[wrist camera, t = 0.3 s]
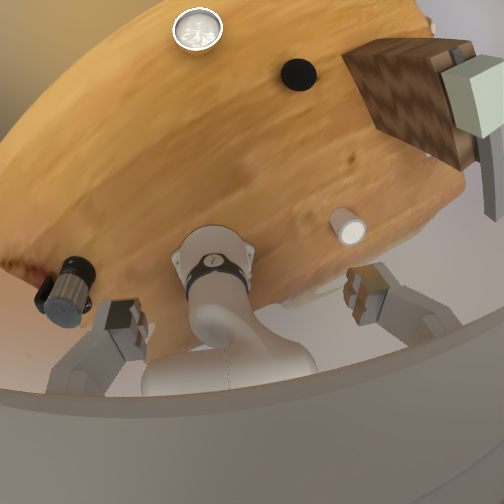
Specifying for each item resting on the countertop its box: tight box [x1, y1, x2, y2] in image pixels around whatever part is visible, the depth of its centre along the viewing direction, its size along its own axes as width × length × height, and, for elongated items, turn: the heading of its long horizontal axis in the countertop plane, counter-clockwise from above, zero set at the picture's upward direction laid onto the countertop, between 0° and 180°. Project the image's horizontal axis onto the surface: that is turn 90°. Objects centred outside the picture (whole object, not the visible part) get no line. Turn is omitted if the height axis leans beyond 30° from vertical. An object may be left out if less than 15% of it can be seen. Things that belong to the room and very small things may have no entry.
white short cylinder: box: [330, 207, 366, 246], centre depth 64 cm, size 7×7×7 cm
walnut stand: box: [341, 38, 480, 172], centre depth 39 cm, size 18×10×27 cm, turn 33°
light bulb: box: [281, 59, 317, 91], centre depth 43 cm, size 6×6×10 cm
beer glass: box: [172, 7, 223, 56], centre depth 35 cm, size 7×7×15 cm
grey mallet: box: [441, 55, 504, 222], centre depth 29 cm, size 26×10×5 cm, turn 33°
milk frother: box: [34, 256, 96, 328], centre depth 59 cm, size 14×16×15 cm
